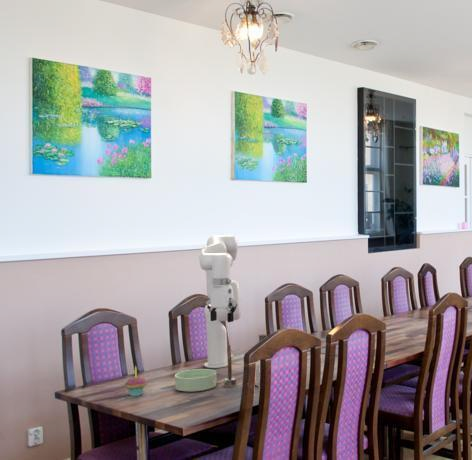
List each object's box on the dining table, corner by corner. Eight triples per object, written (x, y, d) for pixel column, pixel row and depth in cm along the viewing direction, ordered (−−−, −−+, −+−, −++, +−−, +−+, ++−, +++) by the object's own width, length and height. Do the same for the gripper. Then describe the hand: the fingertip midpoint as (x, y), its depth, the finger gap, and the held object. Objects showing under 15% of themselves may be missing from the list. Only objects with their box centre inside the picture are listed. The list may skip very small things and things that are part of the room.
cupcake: (125, 393, 271) (124, 364, 271) (146, 390, 275) (146, 362, 274) (125, 398, 263) (124, 369, 263) (147, 395, 267) (147, 367, 266)
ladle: (229, 383, 284) (228, 343, 284) (238, 385, 282) (237, 344, 282) (221, 386, 280) (220, 345, 279) (230, 387, 278) (229, 346, 277)
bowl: (195, 380, 291) (195, 367, 291) (224, 384, 283) (224, 371, 283) (166, 390, 275) (166, 376, 275) (196, 394, 268) (196, 380, 267)
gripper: (242, 282, 282) (243, 321, 282) (212, 281, 290) (213, 319, 290) (230, 283, 275) (231, 323, 275) (200, 282, 283) (201, 321, 283)
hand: (222, 321), depth 282 cm, fingers open, 9 cm apart
